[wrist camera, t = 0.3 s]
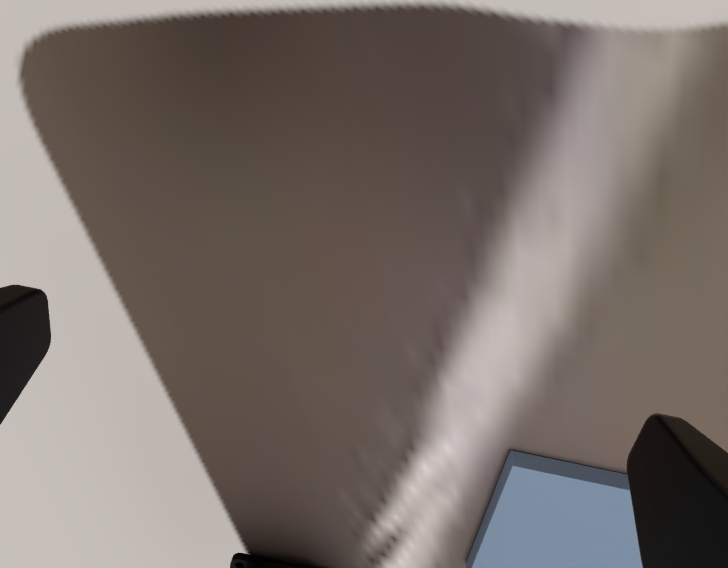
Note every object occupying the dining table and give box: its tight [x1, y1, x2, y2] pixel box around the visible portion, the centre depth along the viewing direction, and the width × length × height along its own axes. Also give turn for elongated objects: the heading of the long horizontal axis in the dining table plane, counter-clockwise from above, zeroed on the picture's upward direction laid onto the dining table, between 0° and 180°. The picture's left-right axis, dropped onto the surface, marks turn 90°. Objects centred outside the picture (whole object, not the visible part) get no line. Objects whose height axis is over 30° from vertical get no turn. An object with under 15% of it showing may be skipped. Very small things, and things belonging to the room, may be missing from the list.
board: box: [466, 450, 643, 568], centre depth 29 cm, size 8×8×1 cm
